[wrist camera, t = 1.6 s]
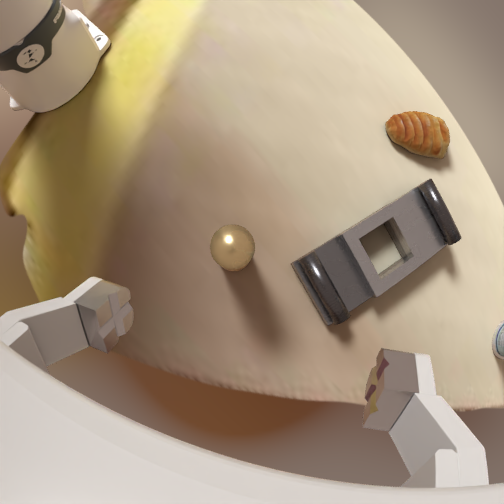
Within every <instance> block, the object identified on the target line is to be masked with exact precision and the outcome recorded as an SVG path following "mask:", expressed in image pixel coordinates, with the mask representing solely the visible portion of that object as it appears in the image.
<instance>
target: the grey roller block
mask: <svg viewBox="0 0 504 504" xmlns="http://www.w3.org/2000/svg"><path fill="white" fill-rule="evenodd" d="M383 223H384V225H385V227H386V229H387V230H388V232H389V234H390V236H391V238H392V240H393V242H394V243H395V245H396V247H397V249H398V251H399V253H400V255H401V257H402V258H401V259H400V260H398V261H397V262H395V263H394V264H393V265H391V266H390V267H388V268H387V269H385V270H384V271H383V272H381V273H380V274H377V272H376V270H375V268H374V266H373V264H372V262H371V260H370V259H369V257H368V255H367V253H366V251H365V249H364V248H363V246H362V244H361V242H360V240H359V238H361V237H363V236H364V235H366V234H367V233H369V232H370V231H372V230H373V229H375V228H377V227H378V226H380V225H381V224H383ZM460 239H461V235H460V233H459V231H458V229H457V227H456V225H455V223H454V221H453V218H452V216H451V214H450V212H449V210H448V209H447V207H446V205H445V203H444V201H443V199H442V197H441V195H440V193H439V191H438V190H437V188H436V186H435V184H434V182H433V181H432V179H429V180H427V181H425V182H423V183H421V184H420V185H418V186H417V187H415V188H413V189H412V190H410V191H409V192H407V193H406V194H404V195H402V196H401V197H399V198H398V199H396V200H395V201H393V202H391V203H390V204H388V205H386V206H384V207H382V208H381V209H379V210H378V211H376V212H374V213H373V214H371V215H370V216H368V217H366V218H365V219H363V220H362V221H360V222H358V223H357V224H355V225H354V226H352V227H350V228H349V229H347V230H345V231H344V232H342V233H341V234H339V235H337V236H336V237H334V238H332V239H331V240H329V241H327V242H326V243H324V244H322V245H321V246H319V247H318V248H316V249H314V250H313V251H311V252H309V253H308V254H306V255H304V256H303V257H301V258H299V259H298V260H296V261H294V262H293V263H291V265H292V267H293V269H294V270H295V272H296V274H297V276H298V277H299V279H300V281H301V283H302V284H303V286H304V288H305V290H306V291H307V293H308V295H309V297H310V298H311V300H312V302H313V304H314V305H315V307H316V309H317V311H318V312H319V314H320V316H321V318H322V319H323V321H324V323H325V324H326V325H330V324H332V323H333V322H334V324H340V323H342V322H344V321H345V320H347V319H348V318H349V317H350V313H349V312H350V311H351V310H353V309H354V308H356V307H357V306H359V305H360V304H362V303H363V302H365V301H366V300H368V299H369V298H371V297H378V296H380V295H381V294H382V293H384V292H385V291H387V290H388V289H389V288H391V287H392V286H394V285H395V284H396V283H398V282H399V281H400V280H402V279H403V278H404V277H406V276H407V275H409V274H410V273H411V272H413V271H414V270H415V269H416V268H418V267H419V266H420V265H422V264H423V263H424V262H426V261H427V260H428V259H429V258H431V257H432V256H433V255H434V254H436V253H437V252H438V251H439V250H441V249H442V248H443V247H444V246H446V245H447V244H448V245H452V244H454V243H456V242H458V241H459V240H460Z"/></svg>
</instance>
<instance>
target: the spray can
mask: <svg viewBox="0 0 504 504" xmlns="http://www.w3.org/2000/svg"><path fill="white" fill-rule="evenodd" d="M492 349H493V353H494V354H495V356H496V357H498V358H500V359H503V360H504V321H502V322H501V323H500V324H499V325H498V326H497V328H496V330H495V333H494V336H493V340H492Z"/></svg>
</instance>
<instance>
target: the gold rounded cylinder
mask: <svg viewBox="0 0 504 504" xmlns="http://www.w3.org/2000/svg"><path fill="white" fill-rule="evenodd" d="M210 250H211V254H212V257H213V259H214V260H215V261H216V262H217V263H218V264H219V265H220V266H222V267H223V268H225V269H226V270H229V271H239V270H241V269H243V268H244V267H246V265H247V264H248V263H249V261H250V260H251V259H252V257H253V254H254V251H255V243H254V239H253V237H252V235H251V234H250V232H249V231H248V230H246V229H245V228H243V227H241V226H239V225H227V226H224V227H222V228H220V229H219V230H218V231H216V233H215V234H214V235H213V237H212V240H211V243H210Z"/></svg>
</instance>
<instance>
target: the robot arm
mask: <svg viewBox="0 0 504 504" xmlns="http://www.w3.org/2000/svg"><path fill="white" fill-rule="evenodd" d="M110 43H111V41H110V40H109V38H108V37H107V36H106V35H105V34H104V33H103V32H102V31H100V30H99V29H98V28H97V27H96V26H95V25H94V24H93V23H92V22H91V21H90V20H88V19H87V18H86V17H85V16H84V15H83V14H82V13H81V12H80V11H78V10H72V11H70V10H69V9H68V8H67V7H65V6H64V5H63V4H62V2H61V0H0V86H1V87H2V88H3V89H4V90H5V91H6V92H7V93H8V94H9V95H10V107H11V108H12V109H13V110H15V111H17V110H22V109H28V110H30V111H33V112H46V111H50V110H53V109H55V108H57V107H59V106H61V105H63V104H65V103H66V102H68V101H69V100H70V99H72V98H73V97H74V96H75V95H76V94H78V93H79V92H80V91H81V90H82V89H83V87H84V86H85V85H86V84H87V83H88V81H89V80H90V78H91V77H92V75H93V74H94V72H95V70H96V67H97V65H98V62H99V59H100V57H101V56H102V55H103V53H104V52H105V51H106V50H107V48H108V47H109V46H110ZM130 299H131V296H130V291H129V289H128V288H126V287H124V286H121V285H118V284H115V283H112V282H109V281H107V280H103V279H100V278H97V277H90V278H89V279H87V280H86V281H85V282H83V283H82V284H81V285H79V286H78V287H77V288H75V289H74V290H73V291H72V292H70V293H69V294H68V295H66V296H65V297H64V298H62V297H58V298H55V299H51V300H48V301H44V302H40V303H37V304H33V305H30V306H26V307H22V308H19V309H15V310H11V311H8V312H6V313H5V314H4V315H2V316H1V317H0V504H504V483H498V484H489V481H488V471H487V463H486V456H485V449H484V447H483V446H482V445H481V443H480V442H479V441H478V440H477V438H476V437H475V436H474V435H473V434H472V432H471V431H470V430H469V429H468V427H467V426H466V425H465V424H464V423H463V421H462V420H461V419H460V418H459V417H458V415H457V414H456V413H455V412H454V411H453V409H452V408H451V407H450V406H449V405H448V404H447V402H446V401H445V400H444V399H443V398H442V397H441V396H437V394H436V387H435V381H434V375H433V369H432V364H431V358H430V356H429V355H428V354H420V353H409V352H403V351H396V350H390V349H384V348H381V350H380V351H379V353H378V356H377V360H376V366H375V367H374V368H372V370H371V372H370V375H369V377H368V381H367V384H366V390H365V399H366V400H367V402H368V403H367V405H366V407H365V409H364V416H363V427H364V428H370V429H376V430H383V431H390V432H389V434H390V436H391V438H392V439H393V441H394V443H395V445H396V447H397V449H398V451H399V453H400V455H401V457H402V459H403V461H404V463H405V465H406V466H407V469H408V470H409V473H410V474H411V477H410V478H409V479H408V480H407V481H406V482H405V483H404V484H403V485H402V486H400V487H389V486H376V485H365V484H356V483H347V482H340V481H333V480H326V479H321V478H315V477H309V476H304V475H299V474H294V473H289V472H284V471H280V470H276V469H272V468H268V467H264V466H260V465H256V464H252V463H249V462H245V461H241V460H238V459H235V458H231V457H228V456H225V455H222V454H218V453H215V452H212V451H209V450H206V449H203V448H200V447H198V446H195V445H192V444H190V443H187V442H184V441H182V440H179V439H176V438H174V437H171V436H169V435H166V434H163V433H161V432H159V431H156V430H154V429H152V428H150V427H147V426H145V425H143V424H140V423H138V422H136V421H134V420H132V419H130V418H127V417H125V416H123V415H121V414H119V413H117V412H115V411H113V410H111V409H109V408H107V407H105V406H103V405H101V404H99V403H97V402H96V401H94V400H92V399H90V398H88V397H86V396H85V395H83V394H81V393H79V392H78V391H76V390H74V389H72V388H71V387H69V386H67V385H66V384H64V383H62V382H61V381H59V380H57V379H56V378H54V377H52V376H51V375H50V373H49V371H48V369H47V366H49V365H51V364H53V363H55V362H57V361H60V360H62V359H64V358H66V357H68V356H70V355H72V354H75V353H77V352H79V351H81V350H83V349H85V348H88V347H89V346H91V347H93V348H96V349H98V350H100V351H103V352H105V353H108V352H109V351H110V350H111V349H112V348H113V347H114V346H115V345H116V344H117V343H118V336H121V335H124V334H126V333H127V332H128V331H129V329H130V328H131V326H132V323H133V319H134V313H133V308H132V307H131V305H130V304H129V300H130Z"/></svg>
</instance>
